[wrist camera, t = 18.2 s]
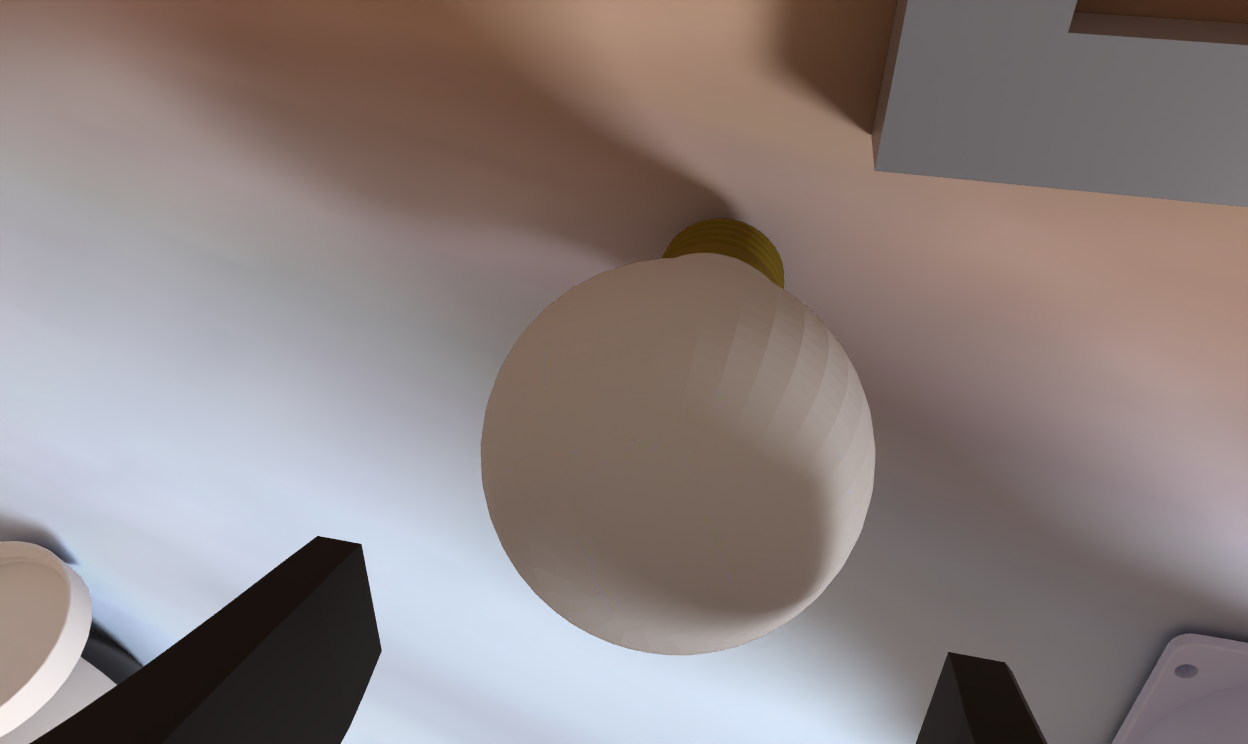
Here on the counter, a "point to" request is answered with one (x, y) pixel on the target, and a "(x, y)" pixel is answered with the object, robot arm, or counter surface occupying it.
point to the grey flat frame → (1066, 99)
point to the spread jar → (49, 644)
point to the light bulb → (679, 449)
